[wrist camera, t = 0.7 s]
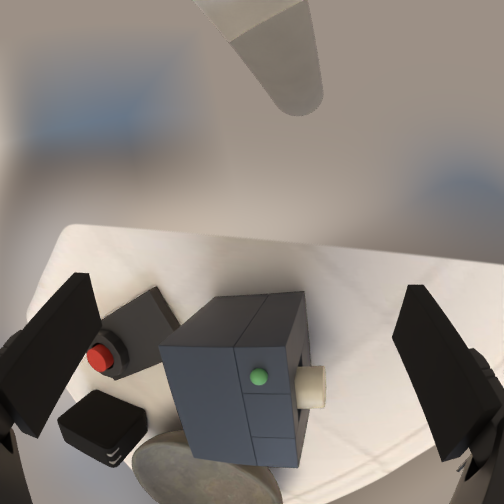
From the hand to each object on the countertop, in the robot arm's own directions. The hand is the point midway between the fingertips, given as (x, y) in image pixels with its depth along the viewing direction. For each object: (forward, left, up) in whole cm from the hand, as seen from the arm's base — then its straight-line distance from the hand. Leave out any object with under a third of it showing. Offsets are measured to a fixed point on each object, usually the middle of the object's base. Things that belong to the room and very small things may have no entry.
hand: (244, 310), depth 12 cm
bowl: (+25, +23, -19) cm, 39 cm away
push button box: (+24, +1, -19) cm, 30 cm away
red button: (+28, +1, -16) cm, 32 cm away
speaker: (+9, +8, -19) cm, 22 cm away
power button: (+4, +10, -13) cm, 17 cm away
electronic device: (+36, +10, -19) cm, 42 cm away
